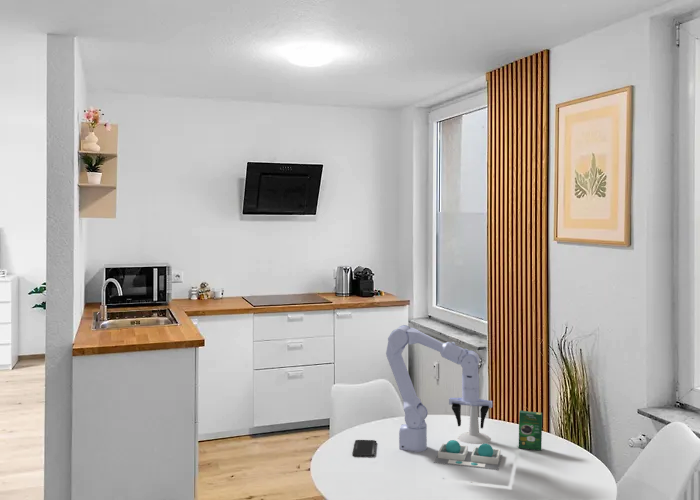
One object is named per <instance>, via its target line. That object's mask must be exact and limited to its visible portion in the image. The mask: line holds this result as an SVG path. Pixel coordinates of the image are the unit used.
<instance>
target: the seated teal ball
mask: <svg viewBox="0 0 700 500" xmlns="http://www.w3.org/2000/svg"><path fill="white" fill-rule="evenodd" d="M445 444H446V451H447V452H448V453H457V454H458V453H459V452H460V449H461V447H460V442H459V441H457V440H455V439H452V440H449V441H447V443H445Z"/></svg>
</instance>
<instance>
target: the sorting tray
mask: <svg viewBox="0 0 700 500" xmlns="http://www.w3.org/2000/svg"><path fill="white" fill-rule="evenodd" d="M446 444H447V443H442V445H441V446H440V448H439V450H438V452H437V456H436V458H435V460H434V461H433V464H441V465H449V466H458V467H466V468H468V467H469V468H474V469H485V470H492V471H493V470H495V471H499V469H500V466H501V462H502V458H503V454H501V449H500V448H499V449H497V448H493V455H492V457H485V456H480V455H479V453H478V448H479V446H474V447H473V451H469V446H468V445H460V447H461V449H460V452H459V453H458V454H457V453H448V452H447V451H446Z"/></svg>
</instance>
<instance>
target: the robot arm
mask: <svg viewBox="0 0 700 500" xmlns="http://www.w3.org/2000/svg"><path fill="white" fill-rule="evenodd" d="M415 344H420V345H422V346H424V347H427V348H429V349H432V350H434V351H437V352H439V353H440V356H441V357H442V358H444V359H445V360H449V361H450V362H453V363H455V364H457V365H460V367H461V368H462V373H461V397H449V398H448V405H451V409H452V412H453V414H454V415H455V418H456V422H457V427H461V425H462V419H461V417H462V416H461V415H462V414H461V411H462V406H478V407H480V410H479V412H480V429H484V423H485V419H486V416H487V413H488V411H489V409H492V408H493V400H489V399H482V398H480V374H479V371H480V370H479V364H480V360H481V358H480V355H479V354H478V353H477V352H476V351H474V350H472V349H471V350H469V349H468V348H466V347H465V348H463V347H461V346H460V345H457V344H456V341H455V342H454V341H447V342H444V343H443V342H442V341H440V340H438V339H436V338H434V337H432V336H430V335H428V334H426V333H424V332H423V331H421V330H419V329H417V328H416V327H411V326H409V325H408V324H407V325H406V324H403V325H399V326H398V327H397V328H396V329H393V330H392V331H391V333H390V334H389V335H388V338H387V346H386V351H385V354H386V358H387V361H388V365H389V366H390V370H391V372H392V374H393V378H394V380H395V382H396V385H397V388H398V391H399V393H400V396H401V399H402V401H403V411H404V422H405V423H404V424H400V427H399V432H398V435H399V436H398V445H399V447H398V448H399V450H403V451H404V450H405V451H410V452H424V451H426V450H427V449H428V447H427V445H428V444H427V442H428V440H427V439H428V438H427V437H428V436H427V433H428V430H427V427H428V425H427V422H426V419H427V417H428V409H427V407H426V406H425V405H424V404H423V403H422V400H421V399H420V398H419V396H418V394H417V392H416V390H415V387H414V385H413V382H412V379H411V377H410V374H409V371H408V369H407V366H406V363H405V360H404V358H403V354H402V353H403V352H404V350H405V348H406V347H407V345H409V346H410V345H415Z"/></svg>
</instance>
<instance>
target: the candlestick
mask: <svg viewBox="0 0 700 500" xmlns="http://www.w3.org/2000/svg"><path fill="white" fill-rule="evenodd" d="M469 410H470V411H469V427H468V432H463V433H461V434H459V435H458V436H457V440H458V441H460V442H463V443H465V444H471V445H472V444H473V445H482V444H489V442H491V441H492V437H490V436H489V435H487V434H485V433H482V432H480V427H479V426H480V425H479V423H480V422H479V406H470V408H469Z"/></svg>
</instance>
